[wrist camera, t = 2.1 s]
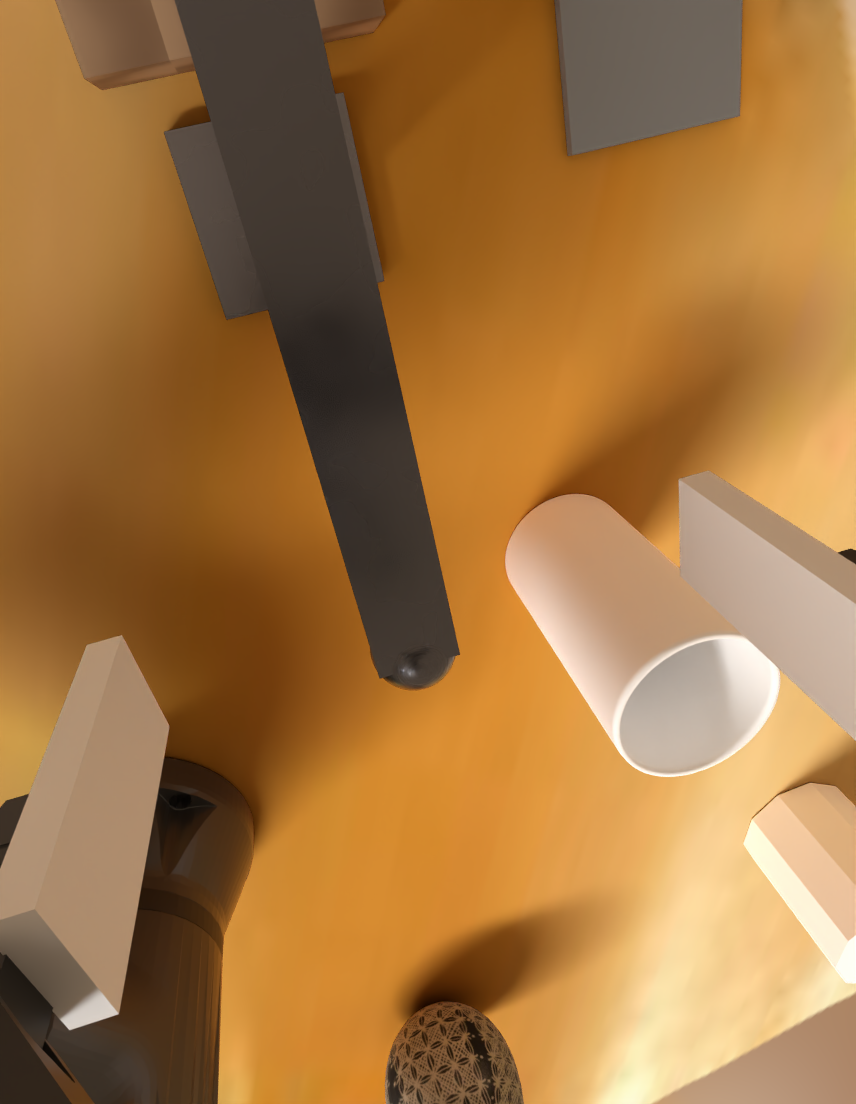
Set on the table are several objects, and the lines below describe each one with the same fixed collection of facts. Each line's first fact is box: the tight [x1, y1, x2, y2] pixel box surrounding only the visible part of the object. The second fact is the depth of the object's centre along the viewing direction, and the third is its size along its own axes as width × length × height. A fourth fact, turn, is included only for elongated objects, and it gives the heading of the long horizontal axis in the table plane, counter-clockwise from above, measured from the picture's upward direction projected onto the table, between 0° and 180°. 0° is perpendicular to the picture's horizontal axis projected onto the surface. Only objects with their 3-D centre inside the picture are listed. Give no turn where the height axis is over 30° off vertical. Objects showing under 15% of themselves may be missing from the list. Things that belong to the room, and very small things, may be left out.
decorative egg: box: [385, 1002, 524, 1104], centre depth 60 cm, size 12×12×15 cm
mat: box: [554, 0, 742, 156], centre depth 33 cm, size 9×9×1 cm
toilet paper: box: [743, 783, 856, 983], centre depth 60 cm, size 10×10×12 cm
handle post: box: [164, 93, 384, 320], centre depth 26 cm, size 8×8×17 cm
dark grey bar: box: [175, 0, 460, 690], centre depth 17 cm, size 3×28×4 cm, turn 11°
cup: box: [505, 494, 780, 777], centre depth 38 cm, size 8×8×16 cm
